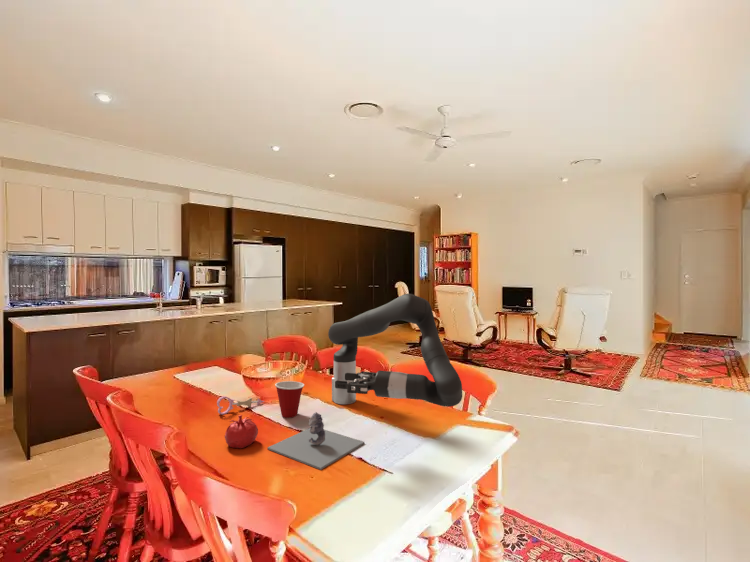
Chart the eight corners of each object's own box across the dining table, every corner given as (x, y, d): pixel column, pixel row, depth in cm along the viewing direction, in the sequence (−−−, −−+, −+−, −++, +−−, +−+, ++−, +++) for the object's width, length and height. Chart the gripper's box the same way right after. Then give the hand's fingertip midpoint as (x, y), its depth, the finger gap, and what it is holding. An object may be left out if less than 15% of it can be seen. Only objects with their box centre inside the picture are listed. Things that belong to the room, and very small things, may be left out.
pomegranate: (264, 440, 128) (264, 412, 128) (242, 453, 119) (242, 422, 119) (240, 435, 132) (240, 407, 132) (217, 447, 123) (217, 417, 123)
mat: (267, 449, 121) (267, 447, 121) (313, 427, 138) (313, 426, 138) (320, 469, 109) (320, 467, 109) (364, 443, 125) (364, 441, 125)
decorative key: (263, 410, 163) (216, 415, 149) (262, 410, 164) (215, 414, 150) (266, 393, 164) (219, 397, 150) (264, 393, 165) (217, 396, 151)
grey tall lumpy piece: (306, 448, 121) (306, 415, 121) (310, 440, 126) (310, 409, 126) (324, 448, 121) (324, 415, 120) (327, 440, 126) (326, 409, 126)
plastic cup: (309, 416, 148) (308, 384, 148) (280, 422, 143) (280, 389, 142) (298, 408, 158) (298, 378, 157) (271, 413, 152) (271, 382, 152)
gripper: (397, 366, 123) (348, 362, 127) (386, 378, 109) (331, 374, 114) (397, 389, 123) (348, 385, 128) (386, 405, 110) (331, 399, 114)
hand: (340, 380), depth 121 cm, fingers open, 8 cm apart
